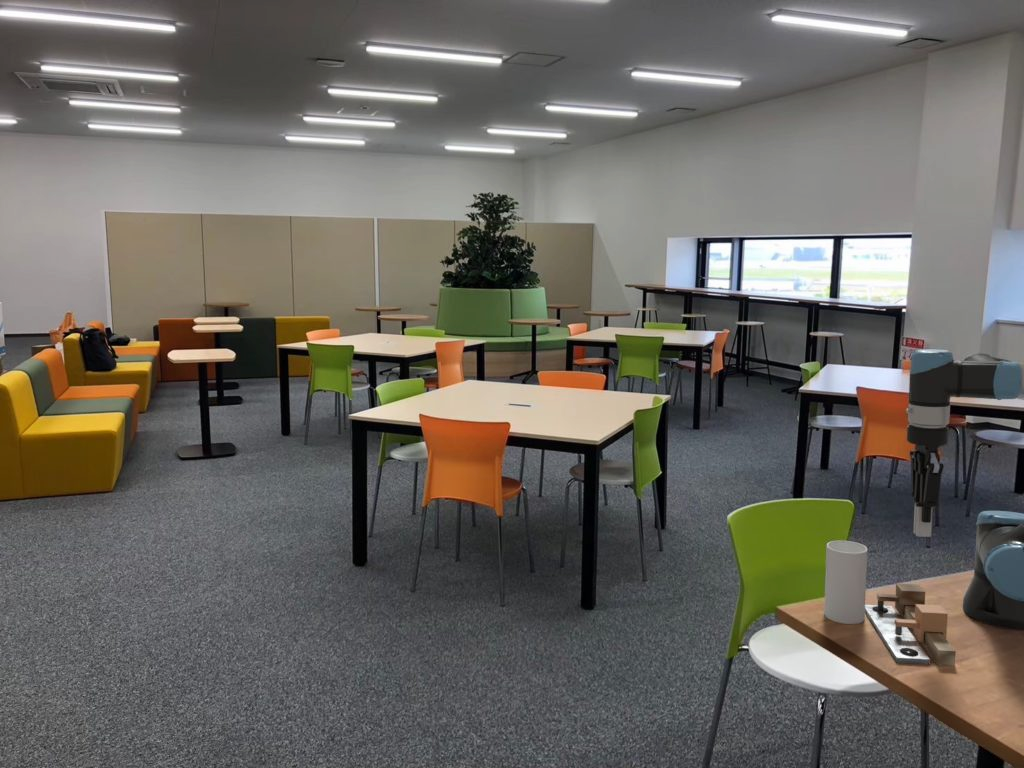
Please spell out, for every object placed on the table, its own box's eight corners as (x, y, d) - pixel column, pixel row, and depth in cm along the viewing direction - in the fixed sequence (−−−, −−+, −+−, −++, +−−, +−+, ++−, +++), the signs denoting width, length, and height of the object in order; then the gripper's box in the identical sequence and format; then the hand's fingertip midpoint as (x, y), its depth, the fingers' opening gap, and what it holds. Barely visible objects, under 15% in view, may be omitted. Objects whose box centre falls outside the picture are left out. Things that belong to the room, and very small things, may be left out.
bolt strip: (891, 610, 176) (891, 605, 176) (929, 664, 152) (929, 658, 151) (862, 608, 177) (863, 603, 177) (896, 662, 153) (896, 656, 152)
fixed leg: (918, 608, 174) (919, 584, 174) (924, 616, 170) (925, 591, 170) (874, 606, 176) (876, 582, 175) (880, 614, 172) (881, 589, 171)
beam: (912, 611, 175) (913, 598, 175) (954, 665, 151) (955, 651, 150) (898, 610, 176) (899, 597, 175) (938, 664, 151) (938, 650, 151)
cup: (868, 625, 169) (871, 554, 167) (828, 622, 170) (830, 552, 168) (859, 609, 177) (862, 541, 174) (821, 607, 178) (823, 539, 176)
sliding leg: (938, 634, 162) (940, 605, 161) (945, 643, 158) (947, 613, 157) (892, 632, 163) (893, 603, 162) (898, 641, 159) (899, 611, 159)
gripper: (898, 418, 169) (893, 523, 172) (919, 431, 155) (913, 545, 159) (935, 418, 168) (929, 525, 171) (960, 431, 154) (953, 546, 157)
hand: (922, 534), depth 165 cm, fingers closed
